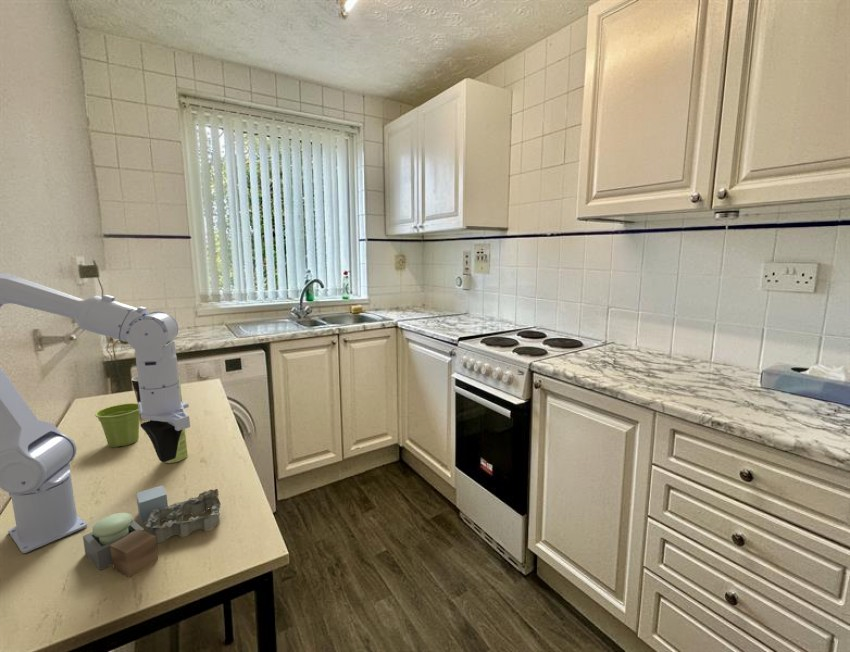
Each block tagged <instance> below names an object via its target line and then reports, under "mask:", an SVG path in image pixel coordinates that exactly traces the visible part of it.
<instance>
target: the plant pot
mask: <svg viewBox="0 0 850 652" xmlns="http://www.w3.org/2000/svg"><path fill="white" fill-rule="evenodd" d="M94 415H95V416H94V417H96V418H97V419H98V421H99V422H100V424H101V428H102V430H103V432H104V433H103V434H104V436H105V439H106V443H107V445H108V447H109V448H110V447H111V448H118V447H120V446H124V447H125V446H126V447H127V446H129V445H133V444H134V443H136V442H138V440H139V437H140V435H139V433H140V431H139V430H140V417H141V413H139V410H138V402H135V403H133V402H132V403H121V404H116V405H112V406H109V407H105V408H101V409H100V410H98V411H96V412H95V413H94Z"/></svg>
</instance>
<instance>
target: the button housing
mask: <svg viewBox="0 0 850 652" xmlns="http://www.w3.org/2000/svg"><path fill="white" fill-rule="evenodd" d="M138 529H140V530H143V531H145V529H144V528H143V527H142V526H141V525H140V524H138V522H136V521H135V520H134V519H132V523H131V525H130V526H129V527H128V531H129V534H131V533H133V532H135V531H136V530H138ZM129 534H127V535H129ZM127 535H125V536H123V537H121V538H119V539H117V540H115V541H112V542H110V543H108V544H106V545H104V546H101V545H100V541H99V537H96V536H94V535H93V531H91V532H89V533H87V534H85V535H83V536H82V539H83V546H84V554H85V556H87V557H88V559H89V560H91V562H92V563H93V564H94V565H95V566H96V568H97V569H98V570H99V571H101V570H104V569H105V568H107V567H109V566H112V565H113V563H112V555H111V548H110V545H112V544H113V543H115V542H117V541H119V540H120V539H122V538H124V537H126V536H127Z"/></svg>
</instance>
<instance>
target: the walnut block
mask: <svg viewBox="0 0 850 652" xmlns="http://www.w3.org/2000/svg"><path fill="white" fill-rule="evenodd" d="M157 545H158V543H157V542H156V536H154V535H152V534H150V533H148V531H145V530H144V531H143V530H140V529H138V530H136V531H135V532H133V533H131V534H129V535H127V536H126V537H124V538H122V539H120V540H119V541H117V542H115V543H113V544H112V545H110V548H111V555H112V563H113V564H112V567H113V568H112V569H113V570H114V571H115V572H117V573H120V574H121V575H123V576H125V577H128V578H129V579H132V577H134V576H136V575H137V574H139V573H140V572H142V571H143V570H145V569H146V568H148V567H149V566H150V565H153V564H154V563H155V562H157V561H158V560H159V553H158V546H157Z"/></svg>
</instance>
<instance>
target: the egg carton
mask: <svg viewBox="0 0 850 652" xmlns="http://www.w3.org/2000/svg"><path fill="white" fill-rule="evenodd" d="M221 506H222V504H221V502H220V498H219V489H218V488H215V489H209V490H207V491H203V492H201V493H199V494H198V496H197V497H190V498H189V499H187V500H184V501H181V502H179V501H178V502H175V503H173V504H170V505H168V507H165V508H163V509H162V510H160V508H159V509H154V510H152V512H151V513H150V517H149V519H148V520H147V522H146V525H145V527H147V533H150V534H152V535H154V536H156V544H161V543H164V542H165V541H166V540H167V539H168V538H170V537H172V536H177V535H178V536H180V537H181V538H184V537H188V536H189V535H190V534H191V533H192V532H194V531H196V530H204V532H207V531H211V530H213V528H214V527H215V526H217V525H219V524H220V513H219V511H220V508H221ZM208 508H211V509H210V510H211V513H210V514H209V515H205V516H200V515H202V514H204V513H205V512H206V511H207V510H206V509H208ZM205 510H206V511H205ZM208 510H209V509H208ZM204 511H205V512H204ZM203 512H204V513H203ZM220 512H221V511H220ZM191 513H192V514H193V516H196V517H193V516H191V517H190V518H188V520H187V521H183V518H184V517H185V516H186V515H189V514H190V515H192V514H191ZM201 513H202V514H201ZM199 514H200V515H199ZM163 521H164V522H163ZM162 522H163V524H162V525H161V523H162Z"/></svg>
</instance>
